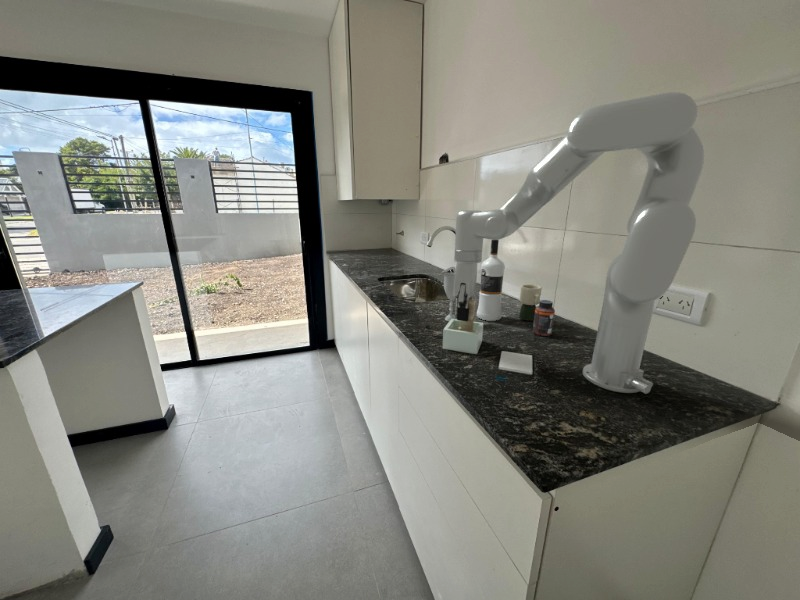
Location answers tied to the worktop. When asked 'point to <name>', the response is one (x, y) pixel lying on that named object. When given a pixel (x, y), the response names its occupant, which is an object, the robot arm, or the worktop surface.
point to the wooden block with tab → (469, 324)
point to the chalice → (449, 292)
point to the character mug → (529, 301)
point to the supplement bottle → (544, 318)
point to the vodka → (491, 286)
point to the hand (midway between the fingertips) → (464, 317)
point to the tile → (516, 362)
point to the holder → (462, 337)
